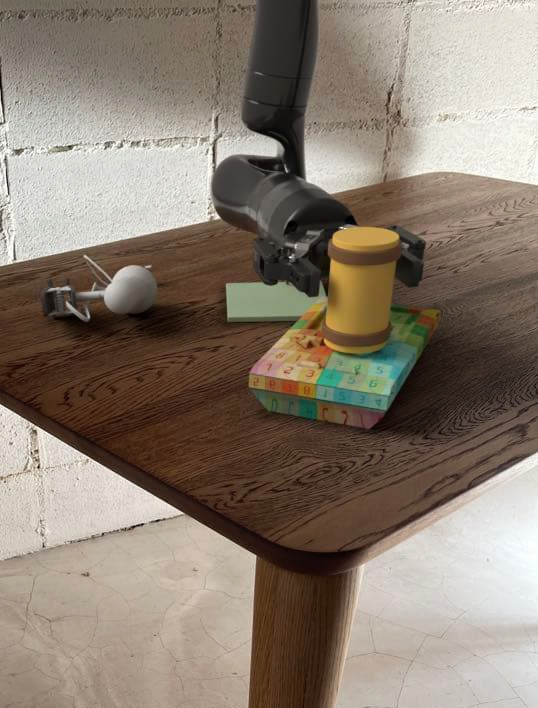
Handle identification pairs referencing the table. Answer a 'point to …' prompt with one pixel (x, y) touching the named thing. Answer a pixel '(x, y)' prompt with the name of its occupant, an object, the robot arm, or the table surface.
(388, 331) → the stacking piece
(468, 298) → the table surface
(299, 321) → the puzzle game
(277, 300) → the green mat
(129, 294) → the clip-on lamp
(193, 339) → the table surface
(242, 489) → the table surface
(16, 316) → the table surface
